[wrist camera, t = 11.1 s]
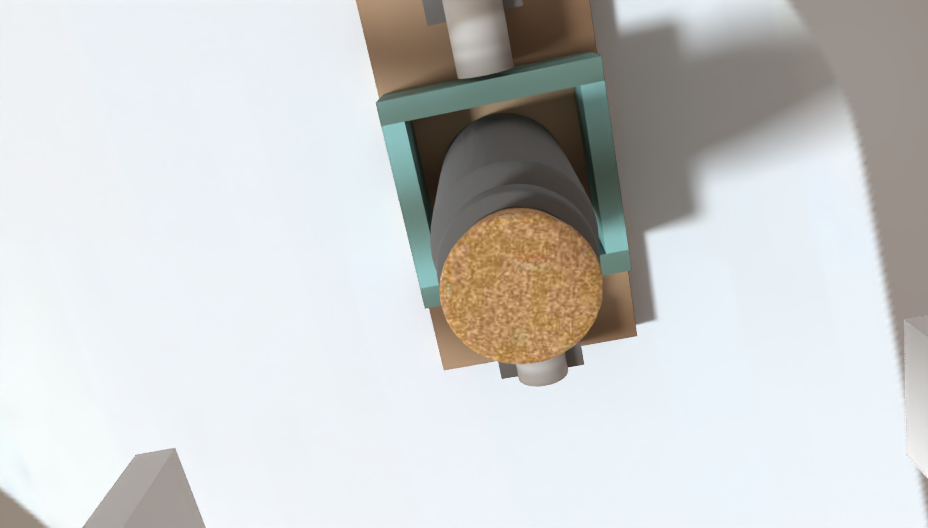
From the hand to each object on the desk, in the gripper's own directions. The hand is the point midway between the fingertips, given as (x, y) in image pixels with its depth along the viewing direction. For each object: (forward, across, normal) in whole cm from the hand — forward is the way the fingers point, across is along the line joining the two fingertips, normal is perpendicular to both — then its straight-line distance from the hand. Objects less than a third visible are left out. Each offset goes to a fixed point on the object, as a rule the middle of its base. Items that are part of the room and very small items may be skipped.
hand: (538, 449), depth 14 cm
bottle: (+24, 0, 0) cm, 24 cm away
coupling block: (+25, 0, 0) cm, 25 cm away
